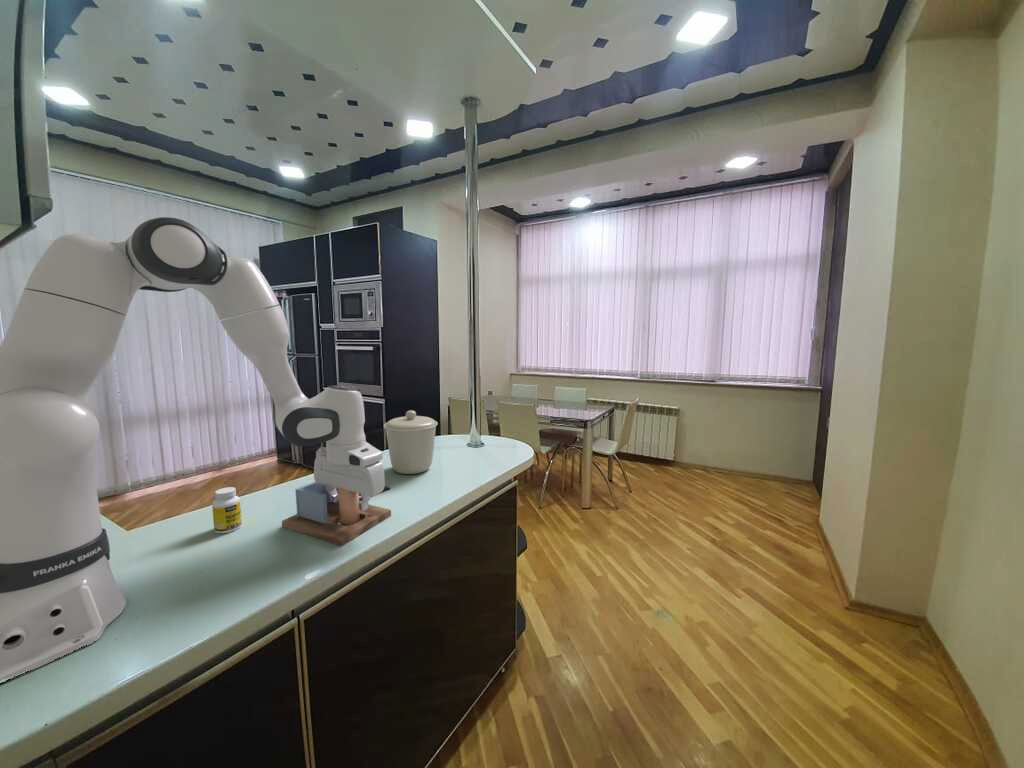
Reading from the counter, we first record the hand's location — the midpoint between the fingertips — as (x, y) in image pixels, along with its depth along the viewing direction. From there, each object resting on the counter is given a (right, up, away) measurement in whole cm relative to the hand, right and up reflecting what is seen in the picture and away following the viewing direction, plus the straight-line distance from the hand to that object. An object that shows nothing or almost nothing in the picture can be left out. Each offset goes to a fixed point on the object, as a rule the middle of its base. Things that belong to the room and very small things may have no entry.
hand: (349, 505), depth 95 cm
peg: (0, -5, +1) cm, 5 cm away
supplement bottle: (-29, -5, -2) cm, 29 cm away
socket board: (-4, -5, +2) cm, 6 cm away
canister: (+5, 0, +40) cm, 40 cm away
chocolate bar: (-6, -3, +17) cm, 19 cm away
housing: (-7, -3, +4) cm, 8 cm away
